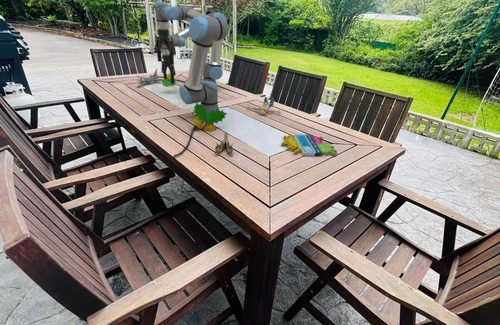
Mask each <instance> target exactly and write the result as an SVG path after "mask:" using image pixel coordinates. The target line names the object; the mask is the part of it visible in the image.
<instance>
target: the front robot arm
mask: <svg viewBox="0 0 500 325" xmlns="http://www.w3.org/2000/svg"><path fill="white" fill-rule="evenodd" d="M154 13H155V22H156V29H157V30H156V31H157V32H156V33H157V34H156V36H155V44H154V51H156V56H157V62H160V63H161V61H163V59H162V50H161V48H162V45H163V44H164V45H166V47H167V49H168V51H169V52H170V54H169V56H170V64H174V65H175V60H174V59H175V54H176V53H177V52H176V49H175V47H174V46H173V43H172V39H171V38H168V36H169V35H170V30H169V29H170V26H169V21H185V22H188V23H189V25H188V27H189V32H190V33H189V35H190V37H189V38H190V39H191V42H192V44H193V46H192V51H191V52H192V53H191V56H190V57H191V58H190V64H189V68H188V69H189V70H188V74H187V79H186V80H184V81H185V82H183V83H184V85H182V86H180V87H179V89H178V90H179V91H178V92H179V97H180V99H181V101H182V102H183V103H184V104H185V105H193V104H196V102H197V103H198V104H201V106H204V109H206V112H208V113H211V112H212V110H214V111H216V110H217V109H219V111H221V110H220V108H219V102H218V99H219V98H218V97H219V94H218V93H219V88H218V84H216V83H217V82H216V83H214V82H211V81H203V73H204V68H205V64H206V62H207V59H208V54H209V49H211V47H212V44H213V41H219V40H221V41H222V40H224V39H226V38H227V36H228V34H229V25H228V22H227V23H226V21H225V20H223V19H221V18H218V17H210V16H207V15H208V14H204V13H202V12H199V11H197V10H196V9H195V8H192V7H184V6H174V5H168V4H167V2H164V1H155V2H154ZM208 113H207V115H208ZM196 127H197V126H196V125H194V126H193V128H192V130H191V132H190V134H189V139H188V142H187V144H186V146H185V147H184V149H183V150H181V151H180V152H179V153H176V154H174V155H173V156H172V158H171V161H174V159H175V158H176V157H177V156H180V155H182V154H183V153H184V152H185V151H186V150H187V148H188V147H189V145H190V143H191V140H192V136H193V132H194V131H195V129H196Z"/></svg>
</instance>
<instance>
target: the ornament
mask: <svg viewBox="0 0 500 325" xmlns="http://www.w3.org/2000/svg"><path fill="white" fill-rule="evenodd" d="M219 110H220V108H219V109H217V110H216V111H214V110H212V112H211V113H208V112H206V109H204V106H201V103H197V102H196V103H195V105H194V106H193V112H194V113H195V118H192V119H191V122H192V123H193V125H194V126H196V127H197V128H198V129H202V130H203V131H206V132H212V131H213V132H214V131H215V130H216V126H215V124H218V123H219V122H223V119H226V115H227V114H228V113H227V112H224V110H223V109H221V110H220V111H219ZM207 113H208V115H207ZM214 123H215V124H214Z"/></svg>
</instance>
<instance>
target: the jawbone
mask: <svg viewBox="0 0 500 325" xmlns="http://www.w3.org/2000/svg"><path fill="white" fill-rule="evenodd" d="M223 135H224V136H223V140H222V139H221V142H220V144H218V142H215V144H216V146H215V148H214V149H215V152H214V154H215V155H217V156H218V155H220V153H221V152H223V151H224V150H226V152H227V153H228V155H229V156H233V155H234V154H233V153H234V148H233V144H234V143H230V140H228V139H229V138H228V137H229V136H228V135H229V133H228V131H226V132H224V134H223Z"/></svg>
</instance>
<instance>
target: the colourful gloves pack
mask: <svg viewBox="0 0 500 325" xmlns="http://www.w3.org/2000/svg"><path fill="white" fill-rule="evenodd" d="M280 145H281V146H282V147H286V150H287V151H289V150H290V152H293V151H294V152H293V154H294V155H298V153H300V152H301V154H302V156H304V157H322V156H328V155H331V156H333V157H334V156H336V154H337V152H338V150H337V149H335V145H329V143H328V142H327V141H324V142H323V137H322V136H319V137H317V136H316V135H311V134H305V133H302V134H301V133H295V134H293V135H289V134H288V135H283V141H282V142H281V144H280Z"/></svg>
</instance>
